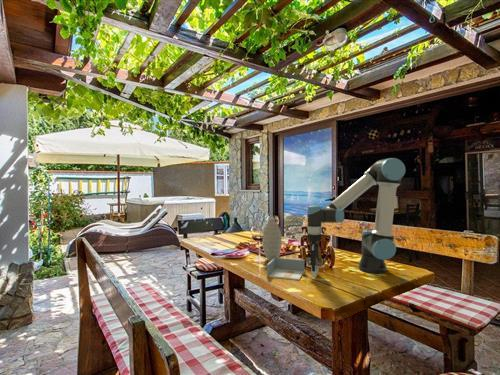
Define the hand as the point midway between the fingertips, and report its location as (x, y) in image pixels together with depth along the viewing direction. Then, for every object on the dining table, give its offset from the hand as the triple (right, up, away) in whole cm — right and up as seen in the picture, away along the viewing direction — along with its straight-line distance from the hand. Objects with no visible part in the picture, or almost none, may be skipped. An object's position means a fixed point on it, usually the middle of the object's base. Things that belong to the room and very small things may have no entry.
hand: (314, 274), depth 165 cm
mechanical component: (0, -1, 0) cm, 1 cm away
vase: (-21, 0, +34) cm, 40 cm away
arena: (-15, -1, +4) cm, 16 cm away
